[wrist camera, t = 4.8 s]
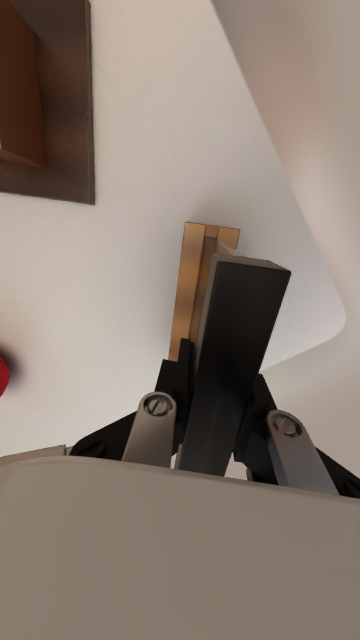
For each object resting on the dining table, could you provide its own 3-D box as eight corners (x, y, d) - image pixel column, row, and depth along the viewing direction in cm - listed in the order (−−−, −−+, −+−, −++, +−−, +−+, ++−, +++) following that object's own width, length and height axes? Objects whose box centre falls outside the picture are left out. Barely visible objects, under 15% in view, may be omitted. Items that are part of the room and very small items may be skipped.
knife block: (186, 222, 22) (185, 221, 20) (235, 229, 22) (240, 229, 19) (170, 349, 28) (167, 362, 25) (209, 354, 28) (210, 368, 25)
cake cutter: (205, 239, 15) (217, 260, 6) (233, 243, 15) (293, 271, 6) (183, 376, 20) (169, 512, 11) (204, 379, 20) (210, 519, 10)
